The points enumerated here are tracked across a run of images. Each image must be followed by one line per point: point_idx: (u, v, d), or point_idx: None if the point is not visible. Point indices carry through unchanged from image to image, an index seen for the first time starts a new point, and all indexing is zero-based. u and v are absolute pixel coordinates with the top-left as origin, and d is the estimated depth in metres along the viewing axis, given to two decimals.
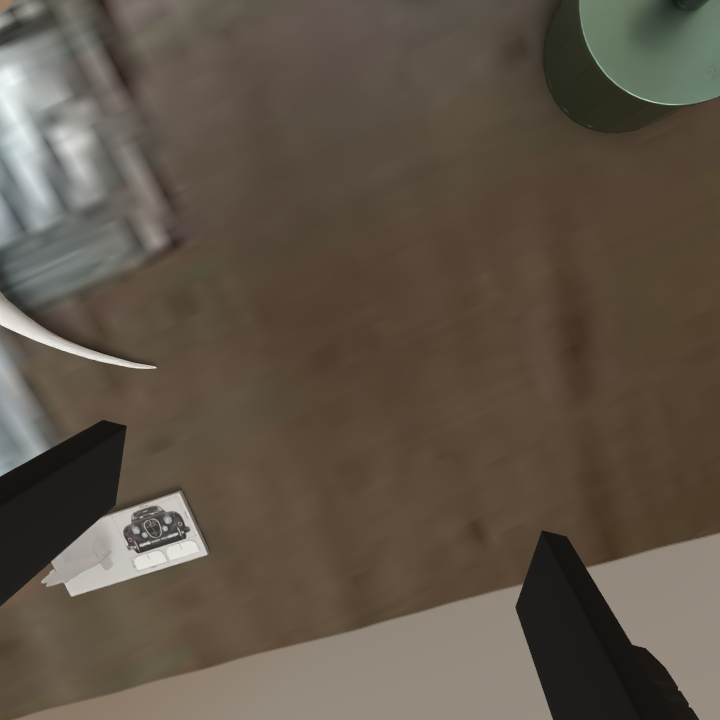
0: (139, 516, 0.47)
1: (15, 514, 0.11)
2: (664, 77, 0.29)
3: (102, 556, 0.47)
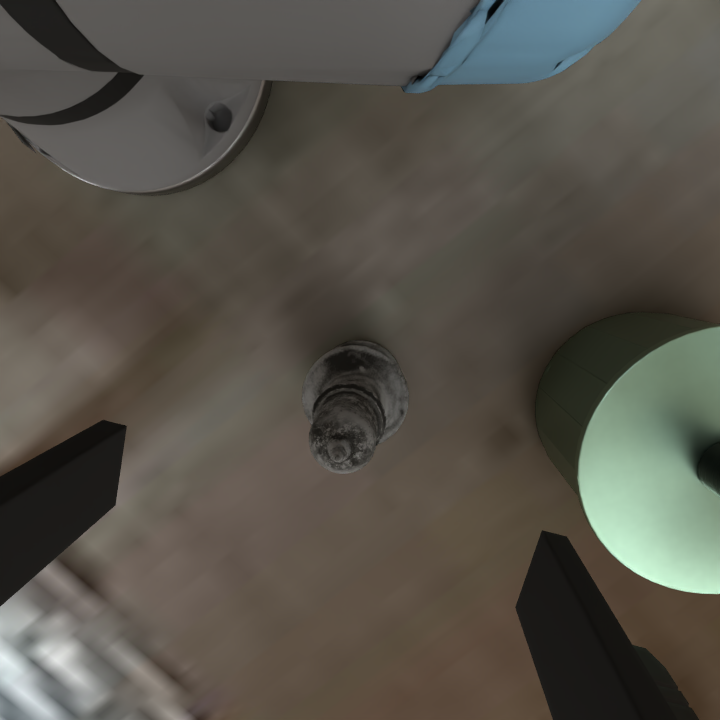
0: None
1: (15, 514, 0.11)
2: None
3: None
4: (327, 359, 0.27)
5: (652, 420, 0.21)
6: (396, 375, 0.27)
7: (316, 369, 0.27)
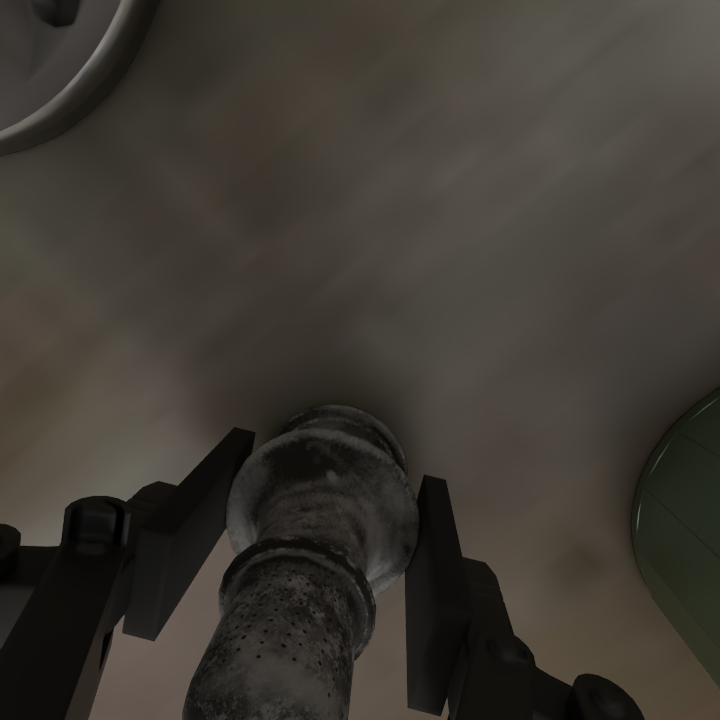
0: None
1: (203, 510, 0.13)
2: None
3: None
4: (269, 454, 0.15)
5: None
6: (396, 484, 0.15)
7: (248, 472, 0.15)
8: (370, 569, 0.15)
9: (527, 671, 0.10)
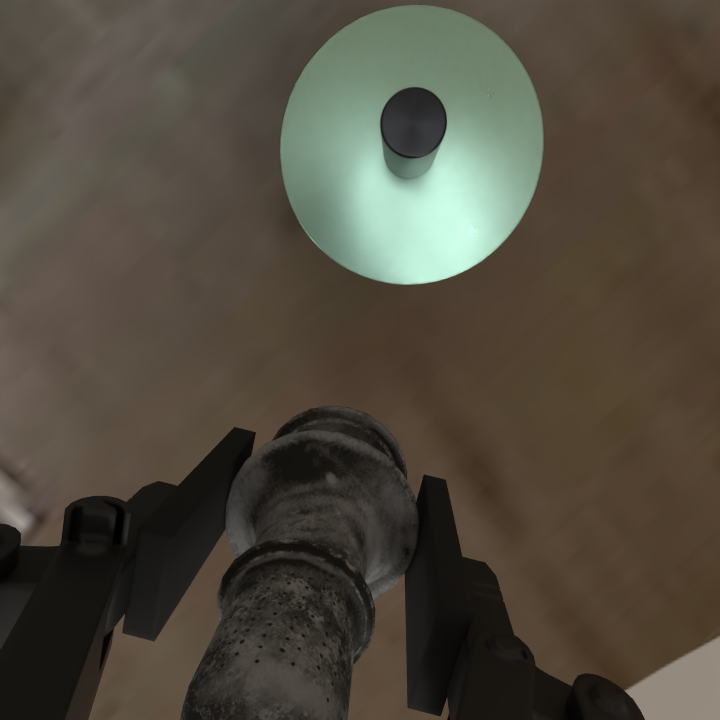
0: None
1: (203, 510, 0.13)
2: (422, 254, 0.24)
3: None
4: (268, 456, 0.15)
5: (339, 108, 0.23)
6: (396, 486, 0.15)
7: (248, 474, 0.15)
8: (369, 571, 0.15)
9: (527, 671, 0.10)
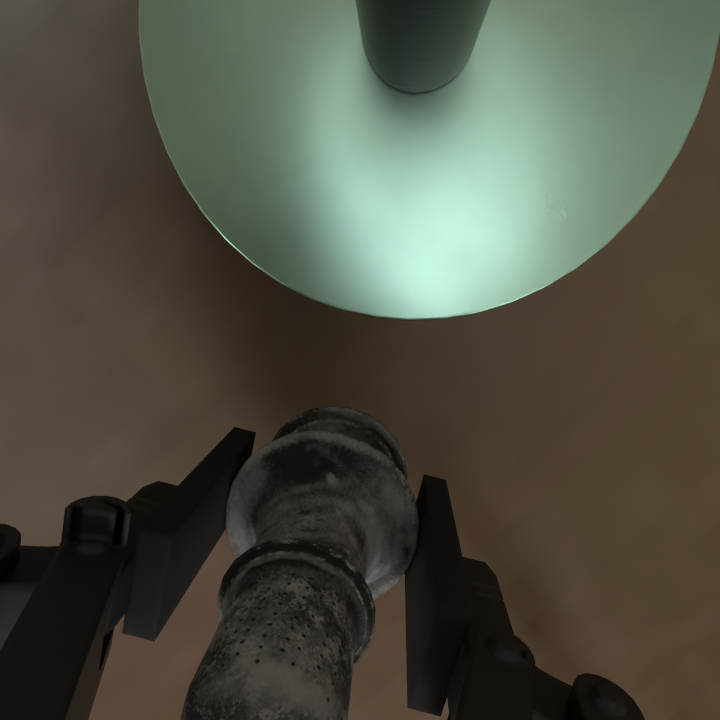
0: None
1: (203, 510, 0.13)
2: (444, 256, 0.12)
3: None
4: (268, 457, 0.15)
5: None
6: (396, 487, 0.15)
7: (248, 474, 0.15)
8: (369, 572, 0.15)
9: (527, 671, 0.10)
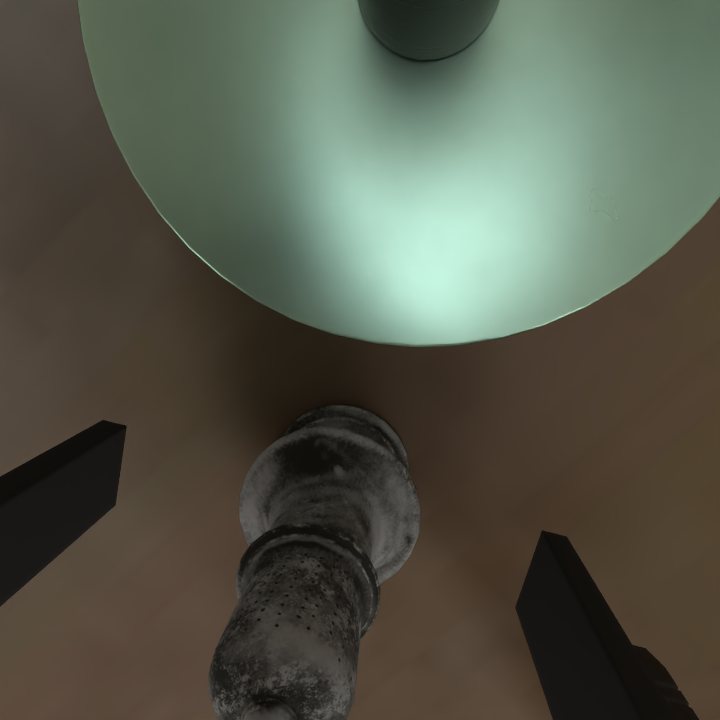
0: None
1: (15, 514, 0.11)
2: (460, 268, 0.09)
3: None
4: (280, 451, 0.16)
5: None
6: (399, 479, 0.16)
7: (261, 467, 0.16)
8: (374, 558, 0.16)
9: None
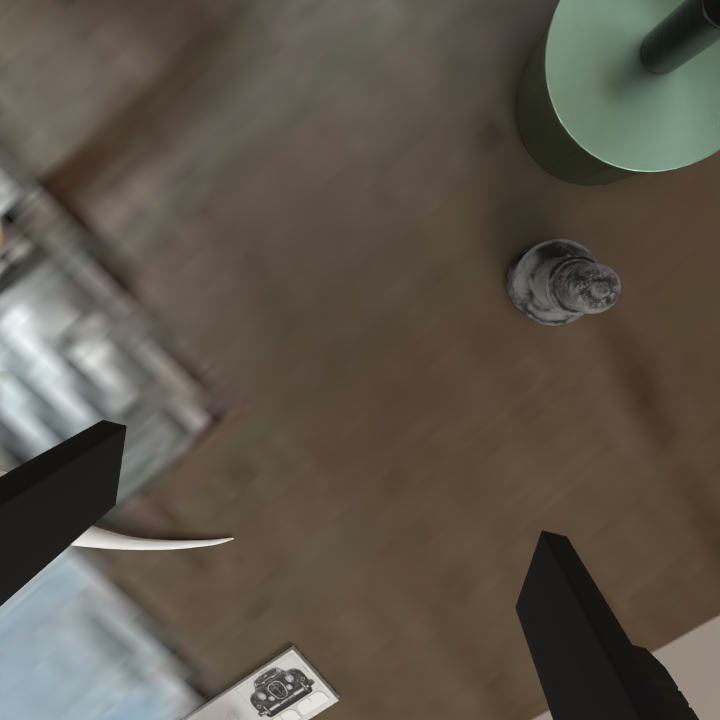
0: (261, 681, 0.47)
1: (15, 514, 0.11)
2: (664, 143, 0.27)
3: None
4: (538, 249, 0.34)
5: (605, 8, 0.26)
6: None
7: (528, 258, 0.34)
8: None
9: None
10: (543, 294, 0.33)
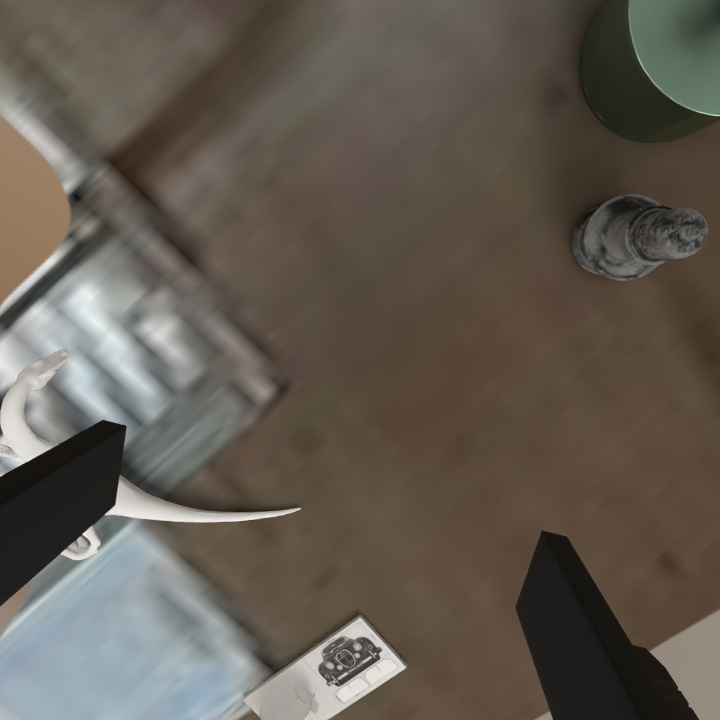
0: (329, 651, 0.47)
1: (15, 514, 0.11)
2: None
3: (307, 700, 0.47)
4: (609, 205, 0.35)
5: None
6: None
7: (599, 214, 0.35)
8: None
9: None
10: (617, 247, 0.34)
